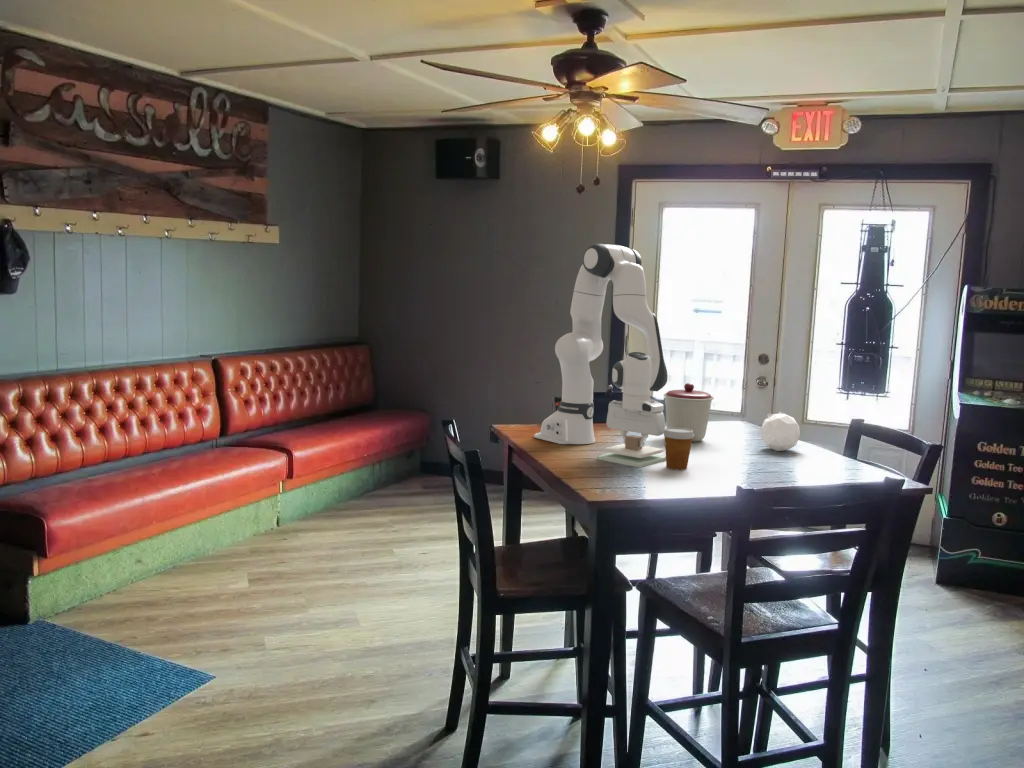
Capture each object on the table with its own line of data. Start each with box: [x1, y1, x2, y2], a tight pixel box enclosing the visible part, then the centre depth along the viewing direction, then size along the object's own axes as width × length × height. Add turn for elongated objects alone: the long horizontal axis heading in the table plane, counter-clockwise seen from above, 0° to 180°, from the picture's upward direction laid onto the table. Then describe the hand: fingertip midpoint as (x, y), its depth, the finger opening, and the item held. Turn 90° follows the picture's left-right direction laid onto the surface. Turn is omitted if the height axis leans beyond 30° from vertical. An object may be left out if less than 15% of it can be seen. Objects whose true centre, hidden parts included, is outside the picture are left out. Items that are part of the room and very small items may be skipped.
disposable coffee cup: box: [662, 427, 694, 471], centre depth 270 cm, size 10×10×12 cm
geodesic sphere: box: [760, 411, 801, 452], centre depth 305 cm, size 14×14×14 cm
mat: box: [596, 452, 666, 468], centre depth 281 cm, size 16×18×1 cm
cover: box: [603, 434, 665, 458], centre depth 280 cm, size 14×14×5 cm
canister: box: [663, 382, 714, 443], centre depth 318 cm, size 18×18×21 cm
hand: (633, 445), depth 280 cm, fingers closed on cover, 4 cm apart
